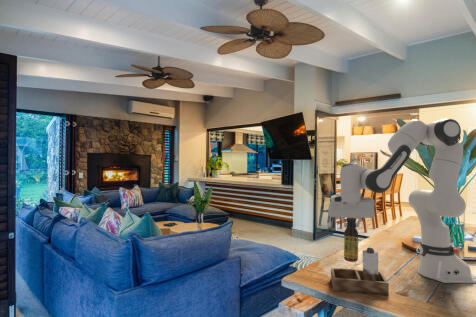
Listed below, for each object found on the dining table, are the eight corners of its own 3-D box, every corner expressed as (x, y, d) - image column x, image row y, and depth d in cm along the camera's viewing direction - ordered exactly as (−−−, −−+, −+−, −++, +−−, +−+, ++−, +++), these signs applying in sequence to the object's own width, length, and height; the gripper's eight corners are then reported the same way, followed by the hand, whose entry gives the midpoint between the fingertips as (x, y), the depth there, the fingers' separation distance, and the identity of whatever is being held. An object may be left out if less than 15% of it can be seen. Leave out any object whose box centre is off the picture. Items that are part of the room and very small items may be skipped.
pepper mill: (376, 283, 126) (376, 245, 126) (380, 289, 121) (379, 250, 121) (361, 281, 128) (361, 244, 128) (364, 287, 122) (363, 249, 122)
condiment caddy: (381, 283, 129) (381, 271, 129) (388, 295, 117) (388, 283, 117) (331, 278, 134) (330, 267, 134) (333, 290, 122) (333, 278, 122)
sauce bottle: (343, 261, 137) (342, 219, 136) (344, 257, 142) (343, 216, 142) (359, 263, 134) (357, 219, 134) (358, 258, 140) (357, 216, 140)
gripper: (373, 196, 139) (373, 225, 139) (327, 196, 143) (328, 224, 144) (376, 198, 133) (376, 229, 133) (328, 198, 137) (329, 227, 137)
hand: (351, 226), depth 138 cm, fingers closed on sauce bottle, 4 cm apart
